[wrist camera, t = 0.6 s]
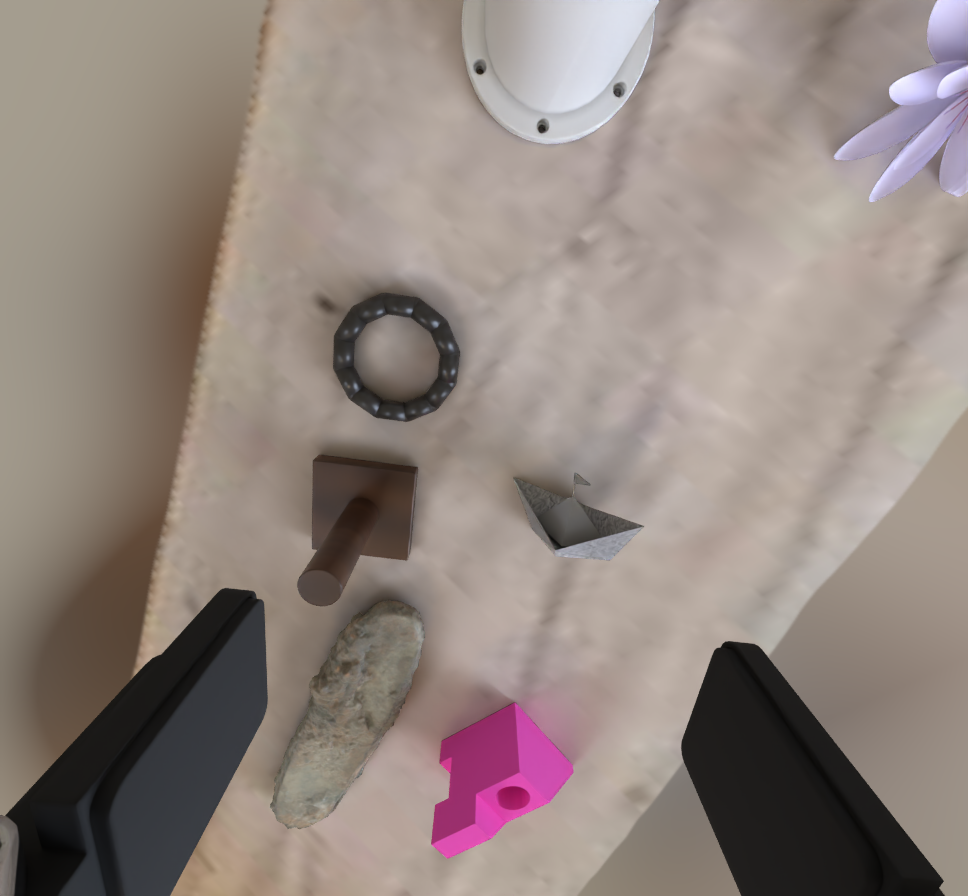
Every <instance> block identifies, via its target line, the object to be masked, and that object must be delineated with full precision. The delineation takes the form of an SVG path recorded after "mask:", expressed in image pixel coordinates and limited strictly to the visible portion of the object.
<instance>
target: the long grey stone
mask: <svg viewBox="0 0 968 896" xmlns="http://www.w3.org/2000/svg"><path fill="white" fill-rule="evenodd" d="M423 625H424V623H423V622H422V619H421V617H420V613H419V612H418V611H417V610H416V609H415V608H413V607H411V606H410V605H407V604H405V603H403V602H399V601H390V600H388V601H386V602H384V601H381V602H380V603H377V604H375V605H374V606H373V607H371V609H370V610H369V611H368V612H367V613H366V614H365V615H362V614H361V613H360V612H359V613H358V614H356V615H354V616H353V617H352V619H351V622H350V623H349V624H348V625H347V627H346V629H344V630H343V631H341V632H340V633H339V635H338V637H337V642H336V644H335V646H333V647H332V648H331V653H330V654H329V655H328V659H327V661H326V662H325V663H324V665H323V666H322V667H321V669H320V673H319V674H318V675H316V676H314V677H313V678H312V679H311V681H310V684H309V688H310V692H311V694H312V697H311V699H310V701H309V709H308V711H307V714H306V716H305V717H304V719H303V720H302V722H301V723H300V725H299V726H298V729H297V731H296V734H295V736H294V737H293V738H292V739H291V741H290V743H289V746H288V749H287V750H286V752H285V755H284V761H283V763H282V765H281V769H280V770H279V772H278V774H277V776H276V778H275V780H274V782H275V783H276V785H275V789H274V790H275V791H274V792H275V793H274V795H273V801H272V803H271V804H270V808H271V809H272V811H273V812H274V813H275V816H276V819H277V821H278V822H280V823H283V824H284V825H285V826H286V827H287V829H289V828H298V829H301V828H306V827H309V826H310V825H313V824H315V823H317V822H319V821H321V820H322V819H324V818H326V817H328V816H329V814H330V813H332V812H333V811H334V810H335V809H336V807H337V805H338V804H339V802H340V801H341V800H342V798H343V796H344V795H345V793H346V791H347V789H348V788H349V787H350V785H351V783H352V782H353V781H354V780H355V779H356V778H358V777H359V776H360V775H361V774H362V771H363V769H364V766H365V763H366V762H367V760H368V759H369V757H370V756H371V755H372V753H373V751H374V750H375V749H376V748H377V747H378V745H379V743H380V741H381V739H382V737H383V736H384V734H385V733H386V731H387V730H389V729H390V727H392V726H393V725H394V721H395V720H396V719H397V717H398V716H399V713H400V709H402V705H403V704H404V703H405V697H406V695H407V693H408V692H409V690H410V689H411V685H412V675H413V673H414V672H415V670H416V668H417V667H418V663H419V658H420V656H421V653H422V650H421V645H422V642H423V640H424V639H425V631H424V627H423Z"/></svg>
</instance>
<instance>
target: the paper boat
mask: <svg viewBox="0 0 968 896" xmlns="http://www.w3.org/2000/svg"><path fill="white" fill-rule="evenodd" d="M513 478H514V477H513ZM514 481H515V484H516V487H517V489H518V492H519V495H520V497H521V500H522V503H523V505H524V508H525V511H526V514H527V516H528V519H529V522H530V524H531V527H532V529H533V531H534V532H535V533H536V534H537V535H538V536H539V537H540V539H541V540H542V541H543V542H544V543H545V544H546V546H547V547H548V548H549V549H550V550H551V551H552V552H553V554H554V555H555V556H558V557H572V558H586V559H599V560H610V559H612V558H613V557H614V556H615V555H616V554H617V553H618V552H619V551H620V550H621V549H622V548H623V547H624V546H625V545H626V544H627V543H628V542H629V541H630V540H631V539H632V538H633V537H634V536H635V535H636V534H637V533H638V532H639V531H640V530H641V529H642V528H643V527H644V526H642V525H639V524H636V523H633V522H631V521H628V520H625V519H622V518H619V517H616V516H613V515H610V514H608V513H605V512H602V511H599V510H596V509H593V508H590V507H588V506H585V505H582V504H580V503H578V502H577V500H576V499H575V497H574V492H575V484H582V485H589V486H590V484H589V483H588V482H587V481H585V480H584V479H583V478H582V477H581V476H579V475H578V474H577V473H575V474H574V486H573V496H572V497H570V498H568V499H567V498H564V497H562V496H559V495H557V494H554V493H552V492H549V491H547V490H544V489H541V488H539V487H536V486H534V485H531V484H529V483H526V482H524V481H521V480H519V479H516V478H514Z"/></svg>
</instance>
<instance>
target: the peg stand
mask: <svg viewBox="0 0 968 896" xmlns="http://www.w3.org/2000/svg"><path fill="white" fill-rule="evenodd" d="M417 474H418V467H411V466H403V465H396V464H388V463H380V462H372V461H364V460H356V459H348V458H341V457H333V456H325V455H318V456H317V457H316V458H315V459H314V460H313V501H312V549H315V550H317V551H316V553H315V555H314V556H313V558H312V559H311V561H310V562H309V564H308V565H307V567H306V568H305V570H304V571H303V573H302V574H301V576H300V577H299V580H298V584H297V587H298V591H299V594H300V595H301V597H302V598H303V599H304V600H305V601H307V602H308V603H310V604H313V605H316V606H328V605H331V604H333V603H335V602H336V601H337V600H338V599H339V598H340V596H341V594H342V592H343V590H344V588H345V586H346V584H347V581H348V579H349V577H350V575H351V573H352V571H353V569H354V567H355V565H356V563H357V561H358V559H359V557H360V555H365V556H374V557H382V558H391V559H399V560H408V558H409V554H410V549H411V538H412V527H413V517H414V506H415V495H416V485H417Z"/></svg>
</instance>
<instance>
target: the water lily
mask: <svg viewBox="0 0 968 896" xmlns="http://www.w3.org/2000/svg"><path fill="white" fill-rule="evenodd" d="M927 43H928V48H929V50H930V53H931V55H932V56H933V58H934V60H935V62H936V63H937V64H934V65H931V66H928V67H925V68H922V69H920V70H917V71H915V72H913V73H910V74H908V75H906V76H904V77H903V78H901V79H899V80H897V81H895V82H894V83H892V84H891V86H890V88H889V95H890V97H891V99H892V100H893V101H894V102H896V103H897V104H900V105H901V106H899V107H897V108H895V109H894V110H892V111H890V112H888V113H887V114H885V115H883V116H882V117H880V118H879V119H877V120H876V121H874V122H873V123H871V124H869V125H868V126H867V127H865V128H864V129H863V130H861V131H860V132H859V133H857V134H856V135H855V136H853V137H852V138H851V139H850V140H849V141H848V142H846V143H845V144H844V145H843V146H842V147H841V148H840V149H839V150H838V151H837V152H836V154H835V155H834V158H835V159H837V160H855V159H861V158H865V157H868V156H871V155H874V154H877V153H879V152H882V151H884V150H886V149H888V148H890V147H892V146H894V145H896V144H898V143H900V142H902V141H904V140H905V139H907V138H909V137H910V136H912V135H914V134H915V133H917V132H918V131H919V132H918V133H917V134H916V135H915V136H914V137H913V138H912V139H911V140H910V141H909V142H908V143H907V144H906V145H905V146H904V148H903V149H902V150H901V151H900V152H899V153H898V154H897V156H896V157H895V158H894V159H893V161H892V162H891V163H890V164H889V166H888V167H887V168H886V170H885V171H884V173H883V174H882V176H881V177H880V179H879V180H878V182H877V183H876V185H875V187H874V189H873V190H872V192H871V195H870V197H869V202H873V201H876V200H879V199H881V198H883V197H885V196H887V195H889V194H891V193H893V192H894V191H896V190H897V189H899V188H900V187H901V186H903V185H904V184H905V183H907V182H908V181H909V180H910V179H911V178H912V177H914V176H915V175H916V174H917V173H918V172H919V171H920V170H921V169H922V168H923V167H924V166H925V165H926V164H927V163H928V162H929V161H930V159H931V158H932V157H933V156H934V155H935V154H936V152H937V151H938V150H939V148H940V147H941V146H942V145H943V143H944V142H945V140H946V139H947V138H948V136H949V135H950V134H951V132H952V131H953V132H952V134H951V136H950V138H949V140H948V143H947V146H946V148H945V151H944V154H943V158H942V161H941V165H940V171H939V182H940V186H941V189H942V190H943V191H944V192H945V191H947V192H948V193H950V194H953V195H954V196H957V197H960V196H962V195H964V194H965V193H966V192H968V0H937V2H936V4H935V6H934V8H933V10H932V12H931V15H930V19H929V22H928V27H927ZM953 129H954V130H953Z"/></svg>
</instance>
